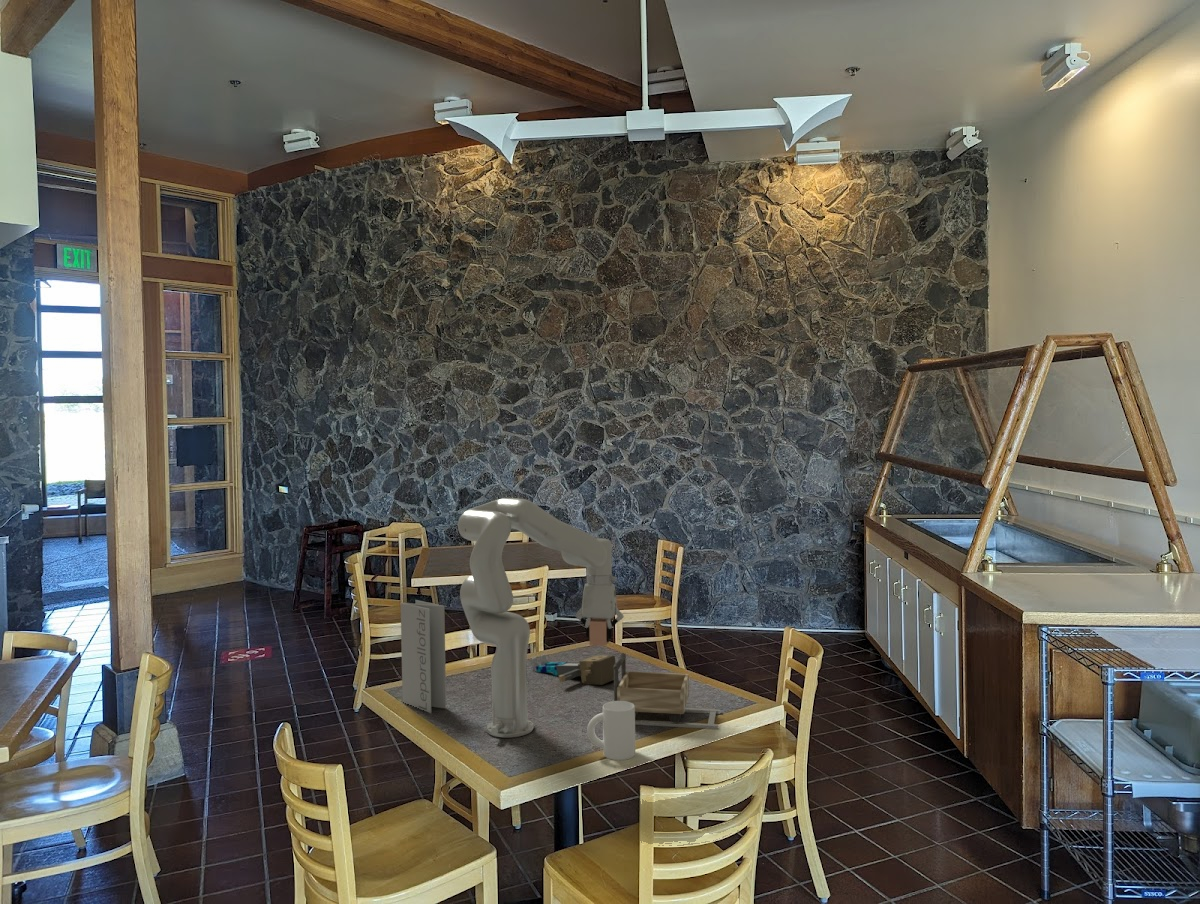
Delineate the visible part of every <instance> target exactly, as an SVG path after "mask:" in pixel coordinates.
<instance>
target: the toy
mask: <svg viewBox="0 0 1200 904" xmlns="http://www.w3.org/2000/svg"><path fill="white" fill-rule="evenodd" d="M546 656H547V655H546V654H545V653H543V654H541V655H539V658H540V664H539V662H538V658H537V656H534V657H532V658H530V661H531V671H532V672H534V671H536V672H535V673H552V675H553V676H558V679H559V680H558V681H559V683H564V682H566V681H569V680H572V679H574V678H577V677H580V679H581V684H584V685H601V686H602V685H605V684H608V683H609V682H612V681H614V669H613V666H614V665H615V663H616V656H615V655H603V654H602V655H591V656H590V657H586V658H585V659H580V660H577V661H572V660H571V661H570V660H568V661H565V662H554V661H553V662H551V661H550V662H549V660H548V659H547V657H546Z"/></svg>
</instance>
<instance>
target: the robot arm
mask: <svg viewBox="0 0 1200 904" xmlns="http://www.w3.org/2000/svg"><path fill="white" fill-rule="evenodd" d="M457 529H458V533H459V534H460V536H461V537H462V538H463V539H465V540H467V541H471V542H475V544H474V546H473V548H472V551H471V554H470V557H469V569H470V573H471V575H469V576H467V577H466V578H465V579H464V581H463V582H462V584H461V586H460V590H459V591H460V592H459V598H460V603H461V607H462V609H463V612H464V615H465V618H466V620H467V622H468V624H469V628H470V630H471V633H472V634H473V636H474V638H475V639H476V640H477V641H479V642H481V643H483V644H486V645H490V646H494V647H496V649H495V653H494V654H493V657H492V659H491V668H490V669H491V671H490V672H491V673H490V674H491V710H492V711H491V712H492V713H491V715H492V721H491V722H489V723H487V725H486V732H487V733H488V734H489V735H490V736H492V737H496V738H505V739H508V738H509V739H510V738H511V739H512V738H520V737H521V736H526V735H528V734H530V733H531V732H533V730H534V725H535V724H534V723H533V722H532V721H531V720H529V718H528V709H529V708H528V707H529V706H528V668H527V667H528V665H527V664H528V648H529V641H530V636H531V629H530V624H529V623H528V621H527V619H526V618H525V617H524V616H522V615H521V614H518V613H515V612H512V611H509V610H510V609H511V608H512V606H513V605H514V604H513V603H514V594H513V590H512V587H511V585H510V582H509V579H508V576H507V572H506V570H505V567H504V563H503V558H502V555H503V550H504V547H505V545H506V543H507V541H508V539H509V537H510V535H511V531H512V529H513V530H516V531H519V532H521V533H522V534H524V535H525V536H526V537H528V538H530V539H531V540H533V541H534V542H536V543H538V544H539V545H540V546H543V547H546V548H548V549H551V550H554V551H559V552H561V554H560V555H561V557H562V560H563V561H564V562H565V563H567V564H568V565H572V566H577V567H585V568H586V583H584V586H583V593H582V602H581V607H580V608H579V610H577V612H576V613H575V614H574V617H575V618H577V619H578V620H579V621H580V622H581V623H582V625H584V627H585V628H586V629H585V630H586V631H585V634H586V638H587V642H590V635H589V621H591V619H592V618H600V619H606V621H607V625H608V626H607V642H610V641H611V640H612V639H613V627H614V626H615V625H617V623H618V622H621V620H622V619H623V618H624V615H623V613H622V612H621V611H620V609H619V608H618V604H617V591H616V586H615V584H614V583H613V582H617V576H613V574H612V568H613V566H612V552H613V551H612V548H613V547H612V541H611V540H610V539H608V538H603V537H602V538H600V537H599V538H596V537H594V536H593V535H592V534H590V533H588V532H586V531H584V530H582V529H579V528H577V527H576V526H575V527H574V526H573V525H571V524H569V523H566V522H564V521H561V520H560V519H557V518H556V517H555V516H554V515H552V514H550V513H549V512H548V511H546V510H544V509H543V508H541V507H540V506H539V505H537V504H536V503H534V502H532V501H531V500H529V499H526V498H518V497H517V498H516V497H515V498H514V497H501V498H499V499H494V500H492V501H490V502H486V503H484V504H481V505H477V506H474V507H471V508H469V509H467V510H465V511H464V512H463V513H462V514H460V516H459V518H458V522H457ZM615 616H616V617H615ZM614 617H615V618H614ZM613 618H614V619H613Z"/></svg>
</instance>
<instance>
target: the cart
mask: <svg viewBox="0 0 1200 904" xmlns="http://www.w3.org/2000/svg"><path fill="white" fill-rule="evenodd" d="M626 657H627V654H626V653H624V652H623V653H621V654H620V655H619V657H618V658H617V660H615V662H616V663H615V665H614V666H613V669H614V680H613V691H614V692H613V698H614V699H613V701H627V702H630V703H633V704H634V706H635V712H638V713H653V714H669V718H668V719H669V720H670V722H674V723H676V722H680V720H681V718H682V716H681V715H684V714H685V712H684V711H685V708H687V703H688V699H689V697H690V685H689V684H690V681H689V680H690V673H674V672H673V673H671V672H655V671H654V672H653V671H652V672H649V671H631V670H630V671H629V670H627V669H626V663H627V662H626ZM620 667H621V681H620V682H619V669H620ZM626 670H627V671H626Z"/></svg>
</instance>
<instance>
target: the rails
mask: <svg viewBox="0 0 1200 904" xmlns="http://www.w3.org/2000/svg"><path fill="white" fill-rule="evenodd" d="M638 713H639V712H635V718H636V717H637V715H638ZM684 713H694V714H695V713H696V714H709V715H708V721H707V723H701V722H700V723H699V722H685V721H684V722H682V721H678V722H676V723H674V722H672V721H665V720H663V721H662V720H646V719H645V720H644V719H635V726H636V725H637V726H651V727H652V726H654V727H675V728H690V729H692V728H693V729H706V730H707V729H709V730H718V729H719V724H718V723H717V724H716V723H715V722H716V721H715V720H716V717H717V715H720V714H721V709H715V708H695V707H685V711H684Z"/></svg>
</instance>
